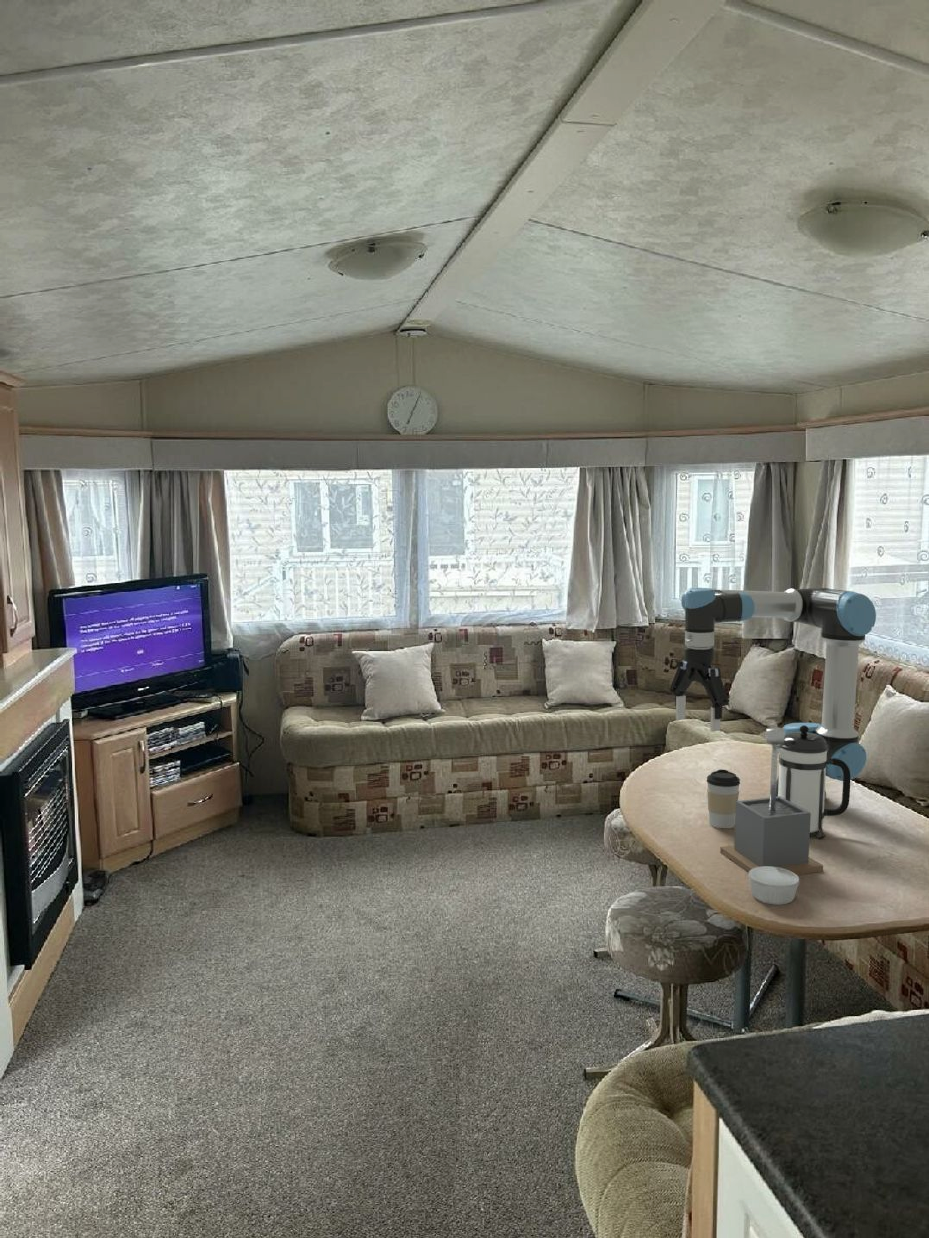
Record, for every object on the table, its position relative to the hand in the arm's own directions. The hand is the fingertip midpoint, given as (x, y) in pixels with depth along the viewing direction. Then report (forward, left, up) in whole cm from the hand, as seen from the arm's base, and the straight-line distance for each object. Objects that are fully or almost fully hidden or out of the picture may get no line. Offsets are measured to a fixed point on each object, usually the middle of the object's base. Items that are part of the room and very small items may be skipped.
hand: (697, 725), depth 257 cm
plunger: (-10, +21, -18) cm, 29 cm away
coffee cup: (-12, -6, -32) cm, 34 cm away
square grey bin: (-10, +21, -31) cm, 39 cm away
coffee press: (-31, +5, -32) cm, 44 cm away
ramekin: (+1, +39, -32) cm, 50 cm away
